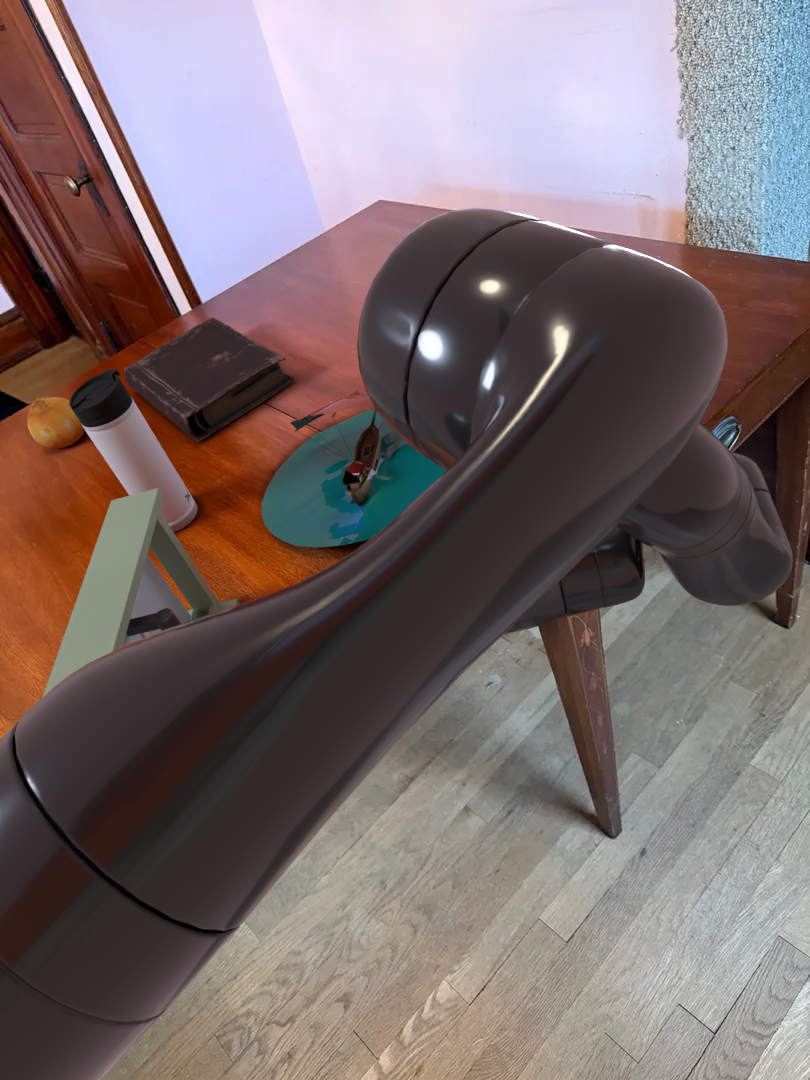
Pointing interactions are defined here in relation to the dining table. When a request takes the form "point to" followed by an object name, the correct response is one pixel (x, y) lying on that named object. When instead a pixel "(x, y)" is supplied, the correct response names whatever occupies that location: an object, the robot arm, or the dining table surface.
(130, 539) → the window frame
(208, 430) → the diary
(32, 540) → the dining table surface
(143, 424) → the travel mug
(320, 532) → the boat on round base
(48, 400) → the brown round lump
